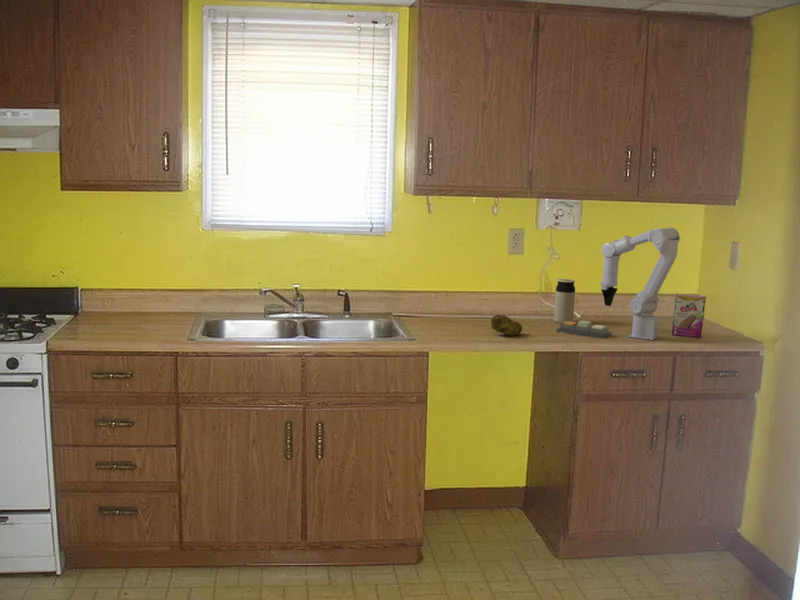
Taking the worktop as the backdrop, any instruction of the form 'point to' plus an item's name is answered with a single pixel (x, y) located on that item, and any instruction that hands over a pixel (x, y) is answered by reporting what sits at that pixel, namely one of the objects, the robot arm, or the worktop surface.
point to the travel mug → (564, 300)
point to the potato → (505, 325)
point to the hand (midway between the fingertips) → (608, 305)
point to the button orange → (569, 323)
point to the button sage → (584, 323)
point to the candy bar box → (688, 315)
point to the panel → (584, 331)
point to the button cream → (599, 327)
